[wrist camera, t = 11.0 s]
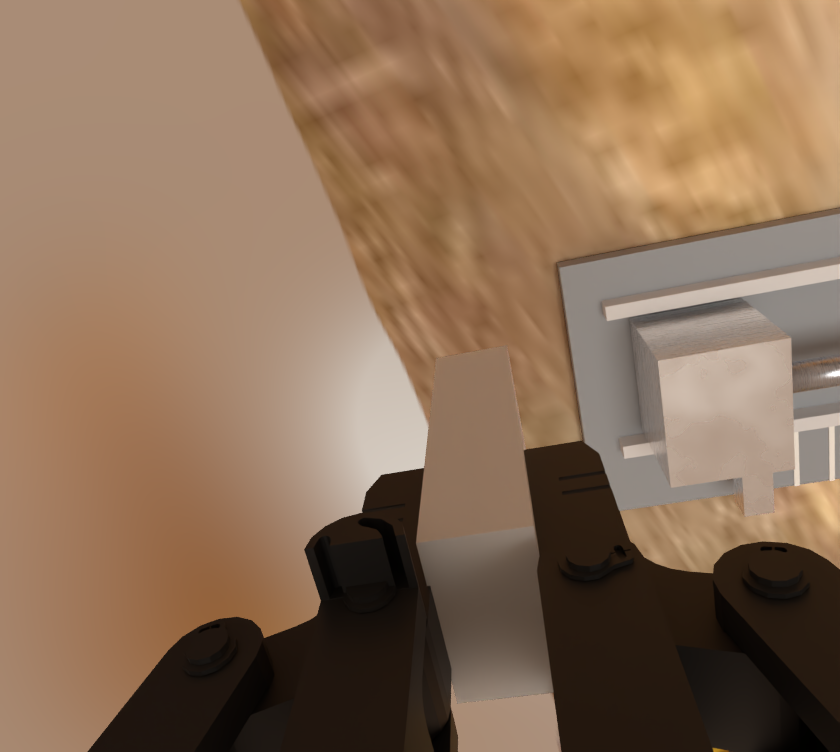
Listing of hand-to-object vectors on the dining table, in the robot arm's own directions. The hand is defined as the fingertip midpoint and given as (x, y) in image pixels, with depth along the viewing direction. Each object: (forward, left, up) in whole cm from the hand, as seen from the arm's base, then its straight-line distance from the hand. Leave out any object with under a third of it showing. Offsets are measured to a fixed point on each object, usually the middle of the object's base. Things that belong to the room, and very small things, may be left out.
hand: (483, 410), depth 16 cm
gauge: (+13, +14, -25) cm, 32 cm away
